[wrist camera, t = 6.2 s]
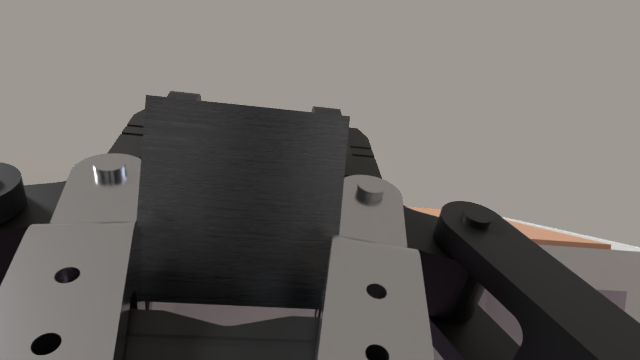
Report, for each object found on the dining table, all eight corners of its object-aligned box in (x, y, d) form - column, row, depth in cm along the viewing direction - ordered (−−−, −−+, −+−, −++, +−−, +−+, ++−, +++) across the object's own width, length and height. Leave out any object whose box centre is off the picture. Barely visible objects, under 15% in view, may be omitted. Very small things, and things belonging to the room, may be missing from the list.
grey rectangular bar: (364, 311, 7) (387, 54, 7) (93, 299, 6) (115, 21, 6) (287, 201, 27) (293, 134, 27) (219, 196, 26) (225, 128, 26)
